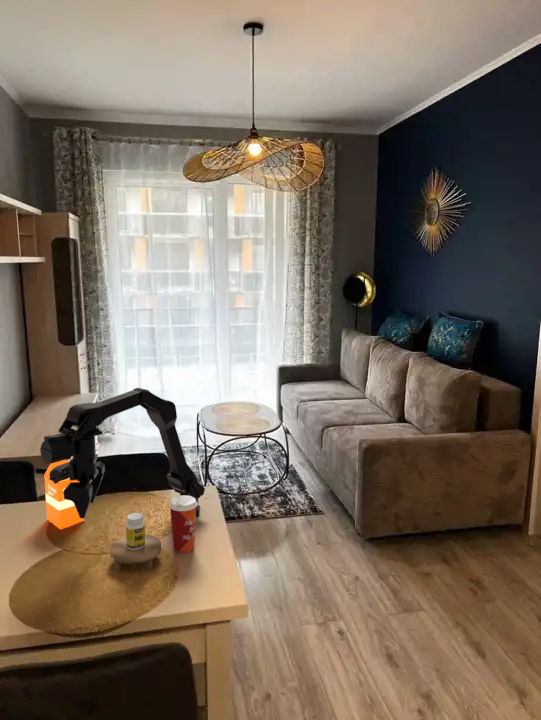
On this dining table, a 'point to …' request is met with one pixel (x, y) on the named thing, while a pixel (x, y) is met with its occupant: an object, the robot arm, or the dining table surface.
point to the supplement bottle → (135, 531)
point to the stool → (135, 552)
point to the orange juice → (59, 501)
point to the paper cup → (183, 522)
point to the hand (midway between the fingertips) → (86, 510)
